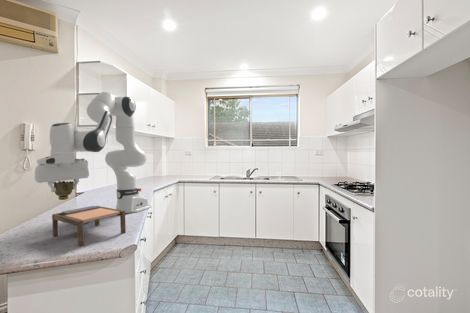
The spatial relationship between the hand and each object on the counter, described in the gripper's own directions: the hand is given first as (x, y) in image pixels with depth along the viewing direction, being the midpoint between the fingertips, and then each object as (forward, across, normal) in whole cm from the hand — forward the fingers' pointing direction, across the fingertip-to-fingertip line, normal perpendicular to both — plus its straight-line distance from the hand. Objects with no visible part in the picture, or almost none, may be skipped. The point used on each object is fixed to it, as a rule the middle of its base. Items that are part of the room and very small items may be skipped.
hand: (64, 190), depth 111 cm
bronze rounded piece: (+4, +1, 0) cm, 4 cm away
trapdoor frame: (+21, -7, +6) cm, 23 cm away
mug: (+21, -14, -18) cm, 31 cm away
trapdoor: (+13, -7, +7) cm, 16 cm away
